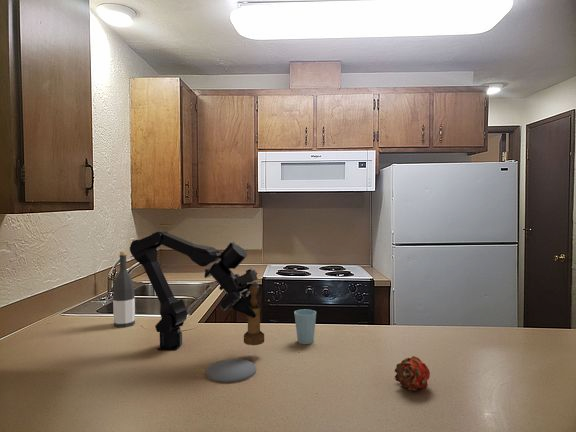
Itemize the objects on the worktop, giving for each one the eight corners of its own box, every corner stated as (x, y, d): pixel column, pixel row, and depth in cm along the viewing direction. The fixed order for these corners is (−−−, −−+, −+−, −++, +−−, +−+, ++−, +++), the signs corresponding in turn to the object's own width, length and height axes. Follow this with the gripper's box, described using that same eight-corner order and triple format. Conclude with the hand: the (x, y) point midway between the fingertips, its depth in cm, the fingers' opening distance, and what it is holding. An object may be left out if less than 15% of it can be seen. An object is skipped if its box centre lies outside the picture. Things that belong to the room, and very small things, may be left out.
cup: (320, 343, 137) (320, 313, 136) (300, 346, 134) (300, 316, 133) (310, 337, 144) (310, 308, 143) (291, 340, 141) (290, 310, 140)
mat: (200, 382, 107) (200, 378, 107) (213, 362, 121) (213, 358, 121) (252, 383, 107) (252, 379, 106) (258, 362, 120) (258, 359, 120)
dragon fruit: (408, 405, 97) (409, 390, 108) (438, 387, 95) (436, 374, 107) (387, 373, 99) (390, 362, 111) (416, 355, 98) (416, 346, 109)
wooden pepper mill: (261, 346, 122) (260, 287, 121) (240, 344, 123) (240, 287, 122) (266, 338, 128) (266, 283, 128) (247, 337, 129) (246, 282, 129)
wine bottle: (109, 326, 159) (107, 252, 158) (123, 321, 167) (121, 250, 166) (126, 328, 157) (124, 252, 156) (139, 322, 164) (137, 250, 164)
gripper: (228, 265, 117) (263, 305, 114) (253, 257, 135) (284, 292, 132) (205, 290, 120) (238, 330, 117) (232, 279, 138) (262, 313, 134)
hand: (257, 315), depth 125 cm, fingers closed on wooden pepper mill, 4 cm apart
